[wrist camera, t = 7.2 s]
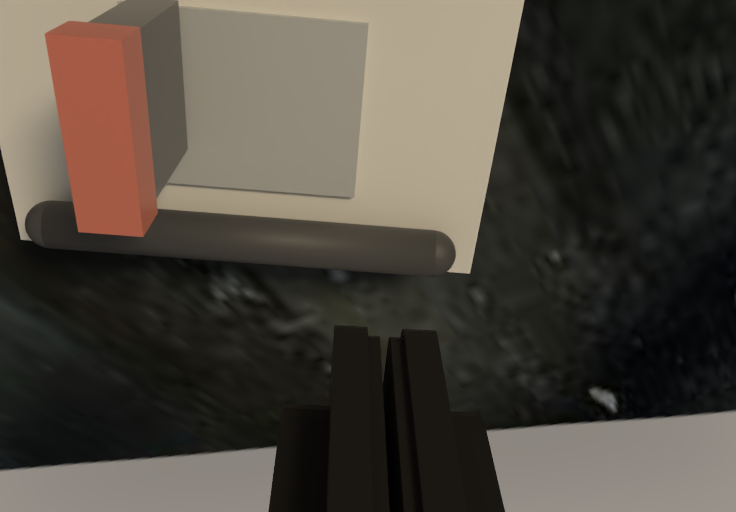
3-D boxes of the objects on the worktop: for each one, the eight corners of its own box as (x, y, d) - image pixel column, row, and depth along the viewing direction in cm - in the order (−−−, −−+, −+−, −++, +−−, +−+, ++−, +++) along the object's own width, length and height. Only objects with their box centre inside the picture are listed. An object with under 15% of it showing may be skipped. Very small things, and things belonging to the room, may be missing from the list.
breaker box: (522, -139, 25) (567, -137, 19) (457, 220, 34) (475, 299, 28) (0, -192, 25) (-119, -206, 19) (66, 190, 33) (-2, 263, 27)
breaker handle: (183, -5, 23) (121, 40, 17) (193, 154, 26) (143, 237, 20) (125, -11, 23) (44, 33, 17) (142, 150, 26) (78, 232, 20)
